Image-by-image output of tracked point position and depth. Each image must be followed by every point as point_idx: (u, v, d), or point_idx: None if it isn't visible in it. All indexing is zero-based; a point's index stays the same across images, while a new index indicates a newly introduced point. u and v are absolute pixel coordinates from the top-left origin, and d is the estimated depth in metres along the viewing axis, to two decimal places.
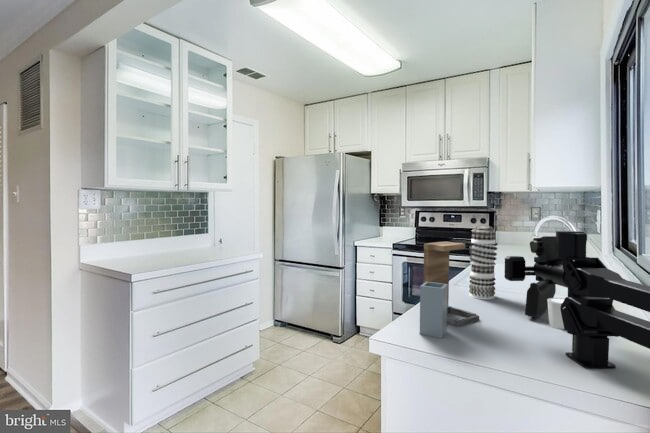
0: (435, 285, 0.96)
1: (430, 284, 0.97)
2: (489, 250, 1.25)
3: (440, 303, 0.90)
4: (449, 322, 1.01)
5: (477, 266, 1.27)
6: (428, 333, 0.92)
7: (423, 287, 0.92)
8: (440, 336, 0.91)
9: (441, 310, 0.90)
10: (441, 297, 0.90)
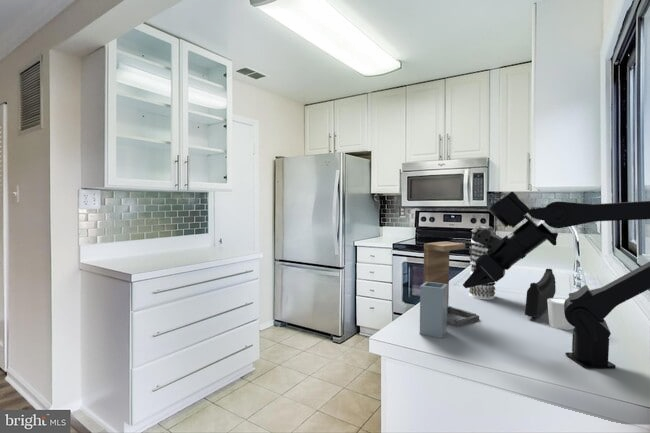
0: (435, 285, 0.96)
1: (430, 284, 0.97)
2: None
3: (440, 303, 0.90)
4: (449, 322, 1.01)
5: None
6: (428, 333, 0.92)
7: (423, 287, 0.92)
8: (440, 336, 0.91)
9: (441, 310, 0.90)
10: (441, 297, 0.90)
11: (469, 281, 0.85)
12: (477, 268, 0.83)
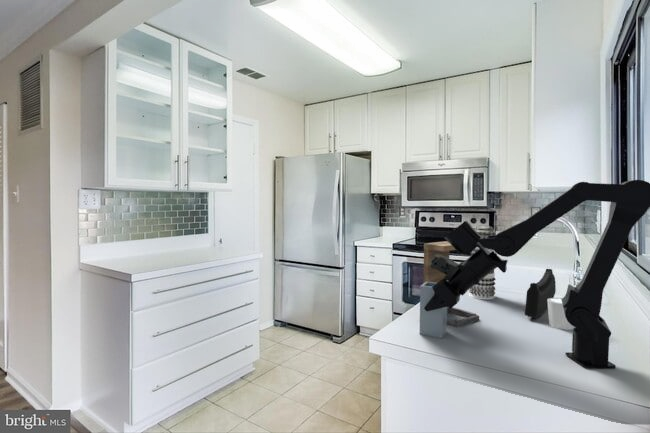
0: None
1: (430, 284, 0.97)
2: (489, 250, 1.25)
3: None
4: (449, 322, 1.01)
5: None
6: (428, 333, 0.92)
7: (423, 287, 0.92)
8: (440, 336, 0.91)
9: (441, 310, 0.90)
10: None
11: (429, 305, 0.91)
12: (436, 293, 0.89)
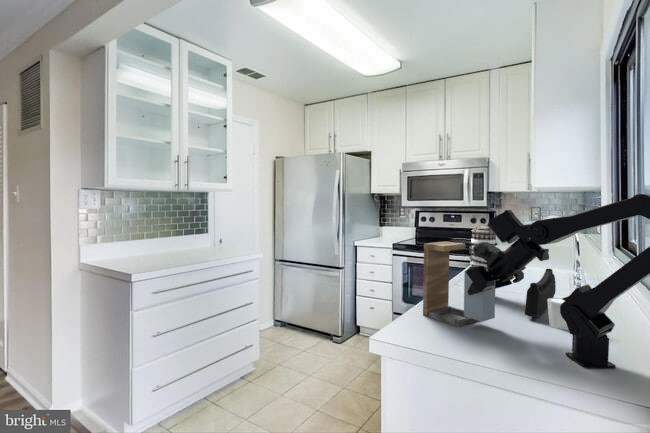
0: None
1: None
2: None
3: None
4: (449, 322, 1.01)
5: None
6: (471, 316, 0.98)
7: None
8: (481, 320, 0.95)
9: (482, 295, 0.95)
10: None
11: (471, 289, 0.97)
12: None
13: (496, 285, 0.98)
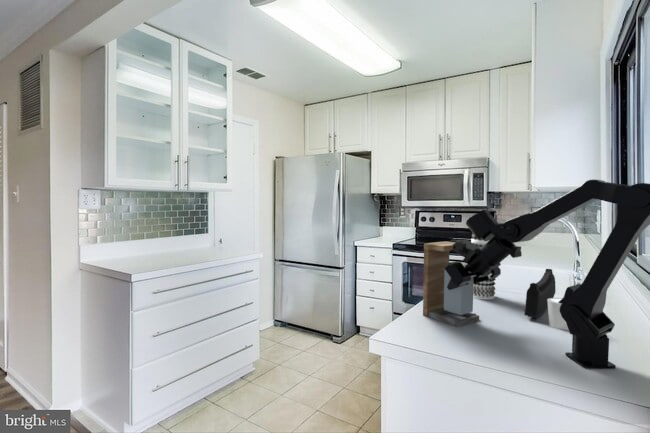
0: None
1: None
2: None
3: None
4: (449, 322, 1.01)
5: None
6: (450, 309, 1.03)
7: None
8: (459, 313, 1.01)
9: (460, 289, 1.00)
10: None
11: (450, 284, 1.02)
12: None
13: (474, 280, 1.03)
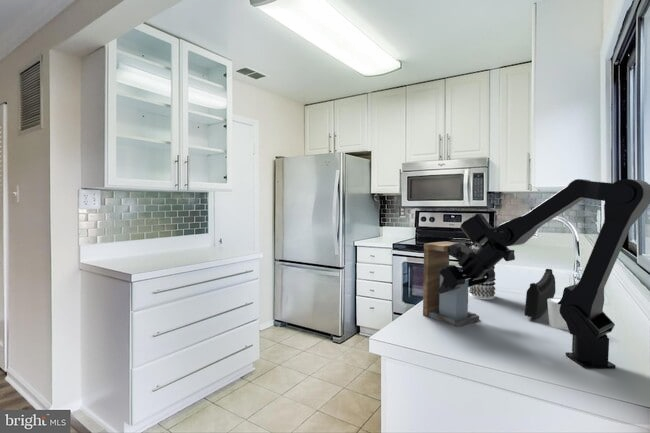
0: None
1: None
2: None
3: (454, 291, 1.02)
4: (449, 322, 1.01)
5: None
6: None
7: (442, 276, 1.05)
8: None
9: (455, 298, 1.02)
10: None
11: (441, 288, 1.02)
12: None
13: (472, 283, 1.06)
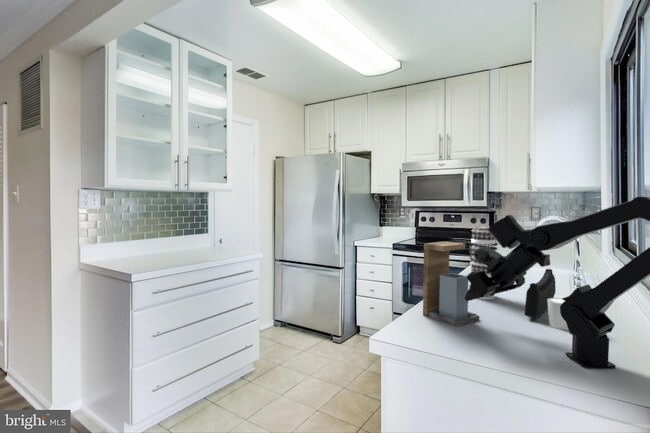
0: (458, 276, 1.07)
1: (454, 275, 1.08)
2: None
3: (454, 291, 1.02)
4: (449, 322, 1.01)
5: (477, 266, 1.27)
6: None
7: (442, 276, 1.05)
8: None
9: (455, 298, 1.02)
10: (455, 286, 1.02)
11: (468, 295, 0.95)
12: (472, 283, 0.93)
13: (500, 289, 0.99)
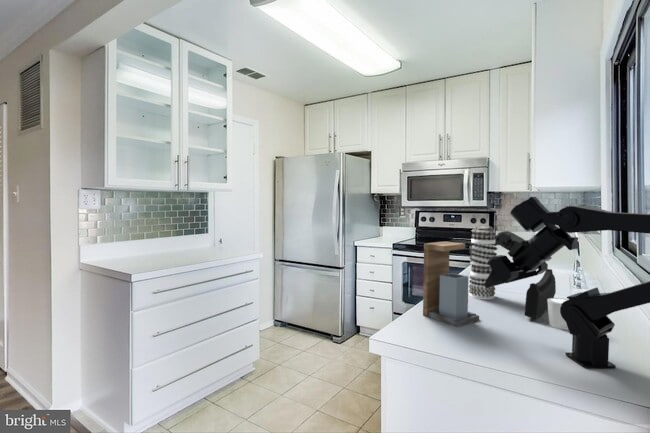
0: (458, 276, 1.07)
1: (454, 275, 1.08)
2: (489, 250, 1.25)
3: (454, 291, 1.02)
4: (449, 322, 1.01)
5: (477, 266, 1.27)
6: None
7: (442, 276, 1.05)
8: None
9: (455, 298, 1.02)
10: (455, 286, 1.02)
11: (488, 281, 0.91)
12: (492, 269, 0.88)
13: (521, 276, 0.94)
